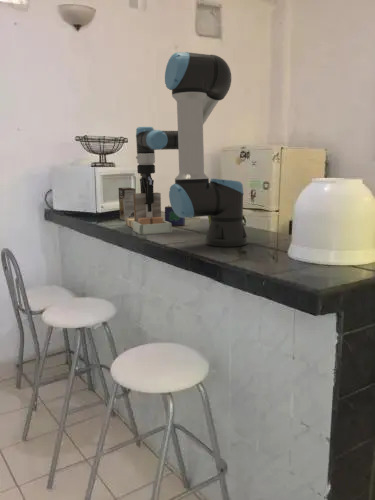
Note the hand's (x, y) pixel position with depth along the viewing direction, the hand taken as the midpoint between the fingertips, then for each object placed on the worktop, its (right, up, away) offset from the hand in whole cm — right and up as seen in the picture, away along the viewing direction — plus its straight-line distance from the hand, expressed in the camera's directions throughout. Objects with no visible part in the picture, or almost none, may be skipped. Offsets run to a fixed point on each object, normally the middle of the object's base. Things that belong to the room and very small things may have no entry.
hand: (147, 218), depth 202 cm
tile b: (-2, -2, -3) cm, 4 cm away
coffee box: (-13, +1, +34) cm, 36 cm away
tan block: (0, -1, 0) cm, 1 cm away
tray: (+2, -6, -5) cm, 8 cm away
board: (-3, -3, +10) cm, 11 cm away
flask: (+12, -3, +11) cm, 16 cm away
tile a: (+4, -2, -1) cm, 4 cm away
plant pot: (+30, -6, -6) cm, 31 cm away
